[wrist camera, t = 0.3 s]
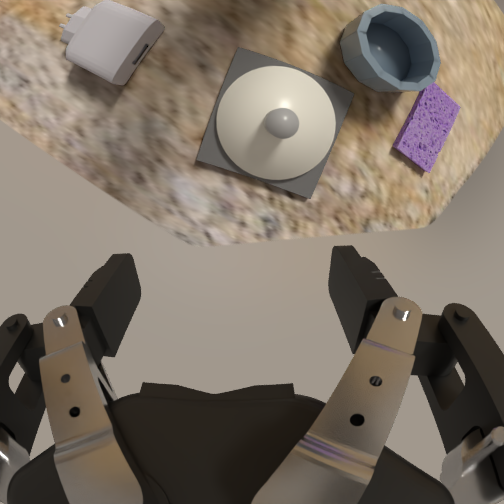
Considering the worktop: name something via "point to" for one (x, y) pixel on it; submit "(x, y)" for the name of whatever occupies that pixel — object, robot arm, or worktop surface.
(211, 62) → the worktop surface
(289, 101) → the lid
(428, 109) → the sponges
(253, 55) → the mat
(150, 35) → the charger
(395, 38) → the bowl
